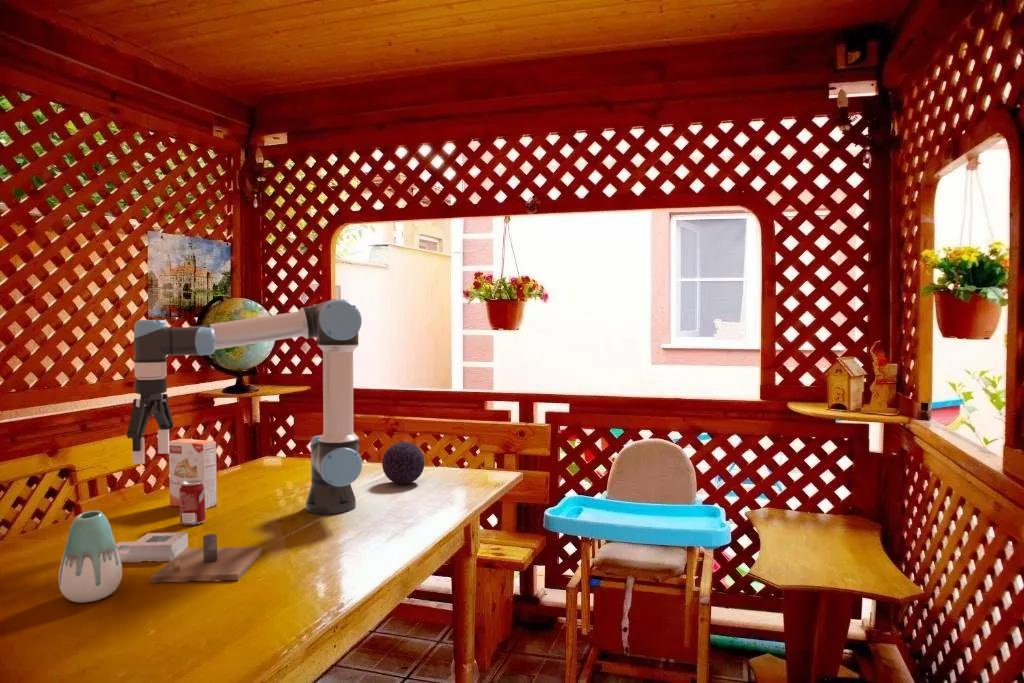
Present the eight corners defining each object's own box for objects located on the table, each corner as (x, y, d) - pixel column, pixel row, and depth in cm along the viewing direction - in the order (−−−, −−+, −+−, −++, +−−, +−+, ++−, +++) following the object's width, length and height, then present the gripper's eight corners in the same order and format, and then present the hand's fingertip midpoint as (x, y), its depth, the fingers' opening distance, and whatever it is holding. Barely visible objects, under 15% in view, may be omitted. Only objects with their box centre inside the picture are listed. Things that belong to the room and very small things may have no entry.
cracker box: (168, 506, 218) (167, 440, 217) (183, 501, 224) (182, 437, 223) (203, 510, 213) (202, 443, 213) (218, 505, 219) (216, 440, 218)
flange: (187, 547, 179) (187, 532, 179) (171, 561, 169) (171, 544, 169) (119, 549, 177) (119, 534, 177) (99, 563, 167) (99, 546, 167)
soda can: (195, 527, 196) (194, 485, 196) (174, 526, 197) (173, 484, 197) (210, 520, 203) (209, 480, 202) (190, 519, 204) (189, 479, 204)
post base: (262, 552, 175) (262, 523, 174) (238, 580, 156) (238, 547, 155) (185, 554, 173) (184, 524, 173) (151, 583, 154) (150, 550, 154)
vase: (76, 612, 139) (74, 524, 139) (48, 600, 145) (46, 516, 145) (133, 593, 149) (132, 510, 148) (105, 582, 155) (103, 503, 155)
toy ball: (374, 486, 243) (373, 444, 242) (396, 477, 257) (395, 437, 256) (411, 490, 237) (411, 447, 237) (432, 480, 251) (431, 439, 251)
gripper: (158, 374, 194) (159, 449, 195) (110, 382, 170) (111, 468, 170) (185, 374, 195) (186, 449, 195) (141, 382, 170) (142, 468, 170)
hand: (151, 458), depth 183 cm, fingers open, 13 cm apart
